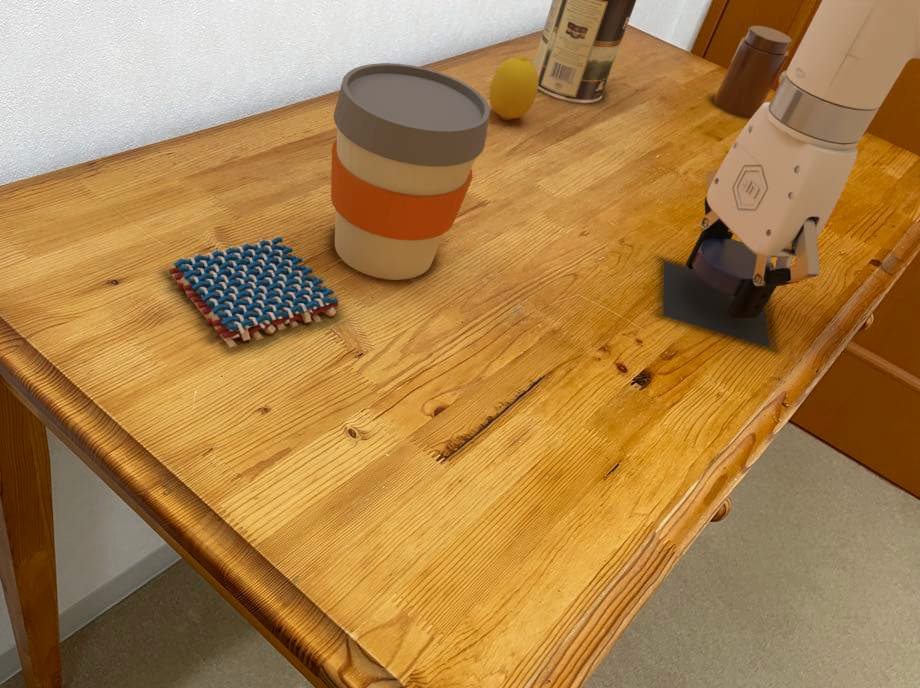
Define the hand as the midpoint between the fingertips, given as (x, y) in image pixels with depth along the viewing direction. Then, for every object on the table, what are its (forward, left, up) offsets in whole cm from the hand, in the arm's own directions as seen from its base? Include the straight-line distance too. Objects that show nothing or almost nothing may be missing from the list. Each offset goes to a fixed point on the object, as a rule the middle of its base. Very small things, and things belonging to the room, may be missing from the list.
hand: (720, 289), depth 80 cm
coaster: (0, 0, -2) cm, 2 cm away
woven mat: (+39, +20, -2) cm, 44 cm away
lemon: (+25, -28, -2) cm, 38 cm away
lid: (0, 0, +3) cm, 3 cm away
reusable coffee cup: (+31, +8, -2) cm, 32 cm away
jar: (-5, -54, -2) cm, 54 cm away
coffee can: (+19, -44, -2) cm, 48 cm away
